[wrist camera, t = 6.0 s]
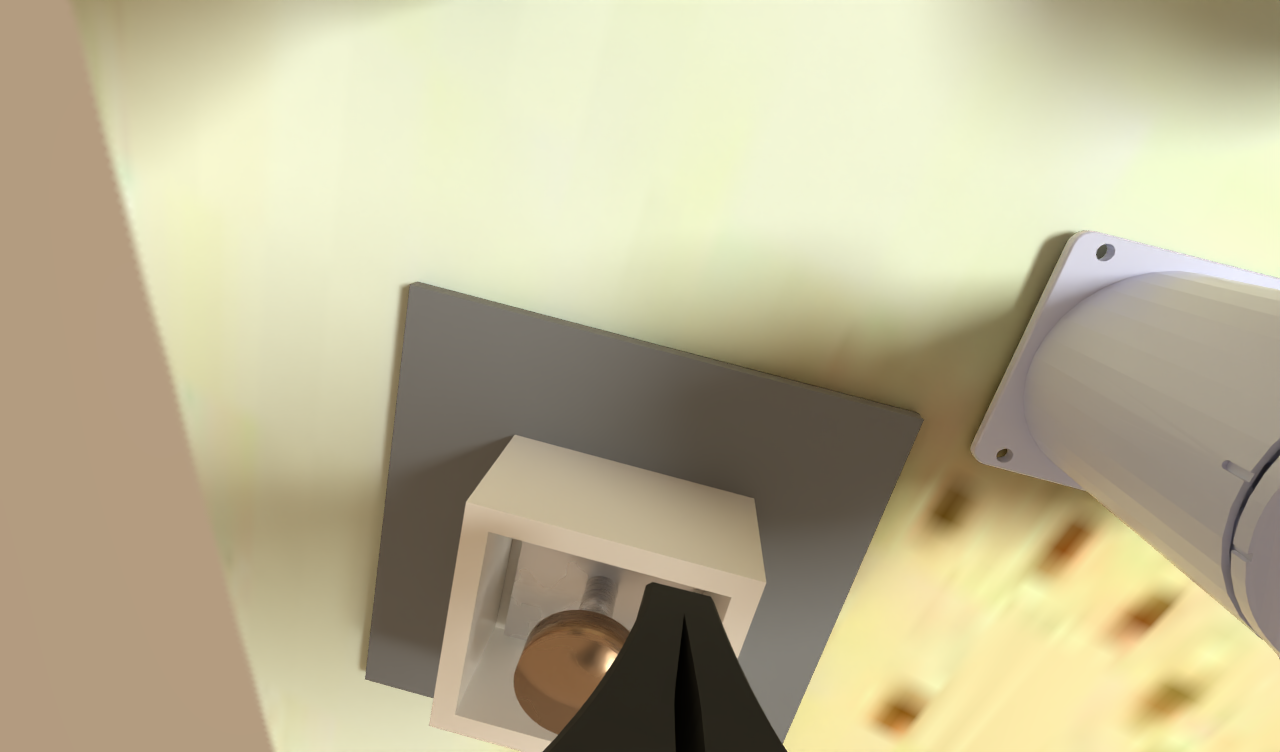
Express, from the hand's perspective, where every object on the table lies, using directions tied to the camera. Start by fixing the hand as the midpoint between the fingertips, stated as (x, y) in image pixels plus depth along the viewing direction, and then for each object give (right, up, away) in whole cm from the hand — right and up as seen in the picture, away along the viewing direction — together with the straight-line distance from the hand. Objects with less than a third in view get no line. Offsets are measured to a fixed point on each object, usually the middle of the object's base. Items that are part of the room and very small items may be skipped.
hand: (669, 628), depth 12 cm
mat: (-2, -2, +12) cm, 12 cm away
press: (-2, -2, +11) cm, 12 cm away
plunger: (-2, -3, +10) cm, 11 cm away
